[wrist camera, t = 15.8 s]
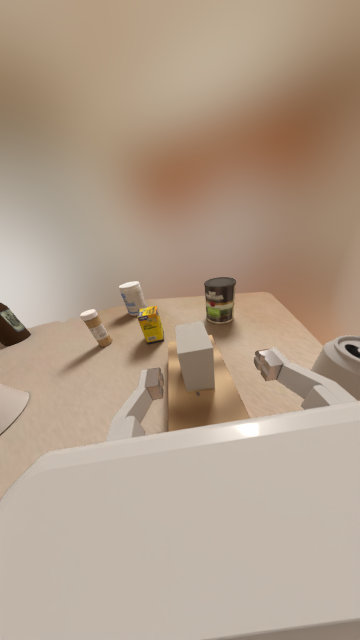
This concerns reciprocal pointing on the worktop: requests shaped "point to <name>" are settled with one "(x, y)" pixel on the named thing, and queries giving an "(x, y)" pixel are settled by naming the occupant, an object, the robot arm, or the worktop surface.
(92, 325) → the sprinkles bottle
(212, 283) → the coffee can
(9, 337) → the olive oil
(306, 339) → the worktop surface
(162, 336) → the supplement box
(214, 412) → the plank
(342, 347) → the can
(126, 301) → the supplement tub
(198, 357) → the block
